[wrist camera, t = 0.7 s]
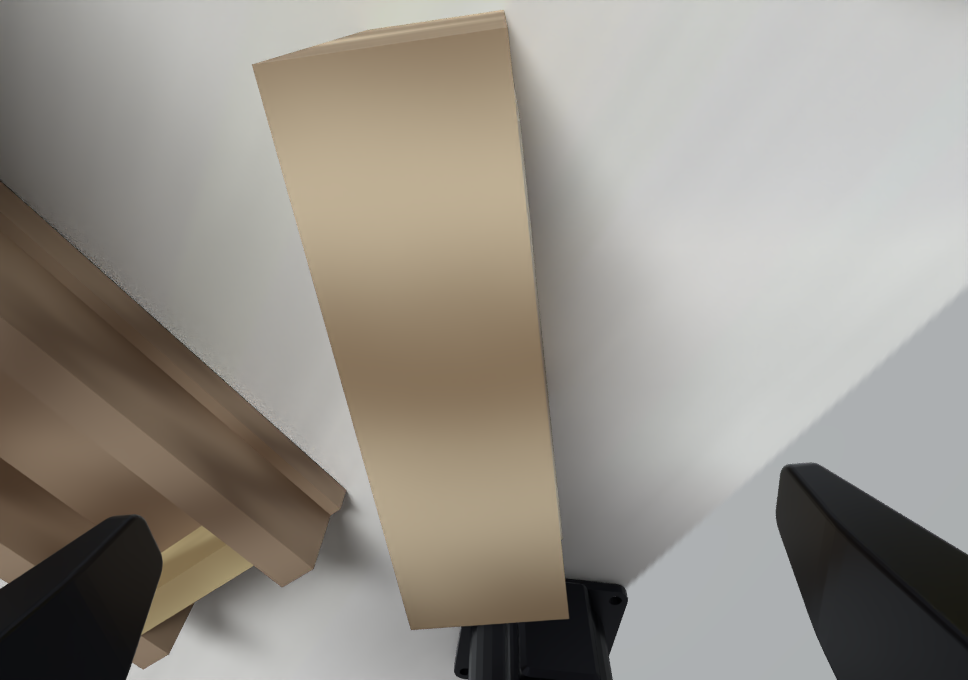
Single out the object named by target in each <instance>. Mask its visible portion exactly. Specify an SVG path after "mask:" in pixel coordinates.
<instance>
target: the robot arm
mask: <svg viewBox="0 0 968 680" xmlns="http://www.w3.org/2000/svg"><path fill="white" fill-rule="evenodd" d="M776 521H777V526H778V529H779V532H780V535H781V538H782V541H783V544H784V546H785V549H786V552H787V555H788V558H789V561H790V564H791V566H792V569H793V572H794V575H795V577H796V581H797V583H798V586H799V589H800V592H801V594H802V598H803V600H804V603H805V606H806V609H807V612H808V614H809V617H810V620H811V623H812V625H813V628H814V631H815V633H816V636H817V638H818V640H819V642H820V645H821V647H822V649H823V651H824V654H825V656H826V657H827V660H828V662H829V664H830V666H831V668H832V670H833V672H834V674H835V676H836V678H837V680H968V555H967V554H966V553H964V552H963V551H961V550H959V549H958V548H956V547H955V546H953V545H951V544H949V543H948V542H946V541H945V540H943V539H941V538H939V537H938V536H936V535H935V534H933V533H931V532H930V531H928V530H926V529H925V528H923V527H922V526H920V525H918V524H916V523H915V522H913V521H912V520H910V519H908V518H907V517H905V516H903V515H902V514H900V513H898V512H897V511H895V510H893V509H892V508H890V507H889V506H887V505H885V504H884V503H882V502H880V501H879V500H877V499H875V498H874V497H872V496H870V495H869V494H867V493H865V492H864V491H862V490H860V489H859V488H857V487H856V486H854V485H852V484H851V483H849V482H847V481H845V480H844V479H842V478H841V477H839V476H837V475H836V474H834V473H832V472H831V471H829V470H828V469H826V468H824V467H822V466H821V465H819V464H817V463H798V464H788V465H786V466H784V467H783V468H782V470H781V473H780V480H779V489H778V497H777V505H776ZM162 567H163V559H162V554H161V552H160V550H159V548H158V545H157V543H156V541H155V539H154V537H153V535H152V533H151V531H150V529H149V526H148V524H147V522H146V521H145V519H144V518H143V517H142V516H140V515H137V514H130V515H117V516H111V517H109V518H107V519H105V520H104V521H102V522H101V523H99V524H98V525H96V526H95V527H93V528H92V529H90V530H89V531H87V532H85V533H84V534H82V535H81V536H79V537H78V538H76V539H75V540H73V541H72V542H70V543H69V544H67V545H66V546H64V547H63V548H61V549H60V550H58V551H57V552H55V553H54V554H52V555H51V556H49V557H48V558H46V559H45V560H43V561H42V562H40V563H39V564H37V565H36V566H34V567H33V568H31V569H30V570H28V571H27V572H25V573H24V574H22V575H21V576H19V577H17V578H16V579H14V580H13V581H11V582H10V583H8V584H7V585H5V586H4V587H2V588H1V589H0V680H126V678H127V675H128V673H129V670H130V667H131V664H132V661H133V659H134V656H135V653H136V650H137V647H138V644H139V640H140V637H141V634H142V631H143V628H144V625H145V622H146V619H147V616H148V613H149V610H150V607H151V604H152V601H153V598H154V594H155V591H156V588H157V585H158V582H159V579H160V576H161V573H162ZM565 584H566V593H567V603H568V613H569V619H558V620H544V621H530V622H516V623H502V624H488V625H474V626H461V628H460V634H459V640H458V646H457V652H456V658H455V665H454V673H455V675H456V676H457V677H459V678H462V679H468V680H613V679H612V673H611V667H610V661H609V654H610V651H611V648H612V646H613V643H614V640H615V636H616V634H617V631H618V628H619V625H620V623H621V620H622V617H623V614H624V611H625V608H626V605H627V602H628V597H627V592H626V590H625V588H624V587H623V586H621V585H618V584H609V583H600V582H591V581H582V580H572V579H565Z"/></svg>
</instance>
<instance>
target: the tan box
mask: <svg viewBox="0 0 968 680" xmlns="http://www.w3.org/2000/svg"><path fill="white" fill-rule="evenodd" d="M252 66H253V70H254V74H255V77H256V81H257V84H258V88H259V91H260V95H261V98H262V102H263V106H264V109H265V113H266V116H267V120H268V123H269V127H270V130H271V134H272V138H273V141H274V145H275V148H276V152H277V155H278V159H279V162H280V166H281V170H282V173H283V177H284V180H285V184H286V187H287V191H288V194H289V198H290V202H291V205H292V209H293V212H294V216H295V219H296V223H297V226H298V230H299V234H300V237H301V241H302V244H303V248H304V251H305V255H306V258H307V262H308V266H309V269H310V273H311V276H312V280H313V283H314V287H315V290H316V294H317V298H318V301H319V305H320V308H321V312H322V315H323V319H324V323H325V326H326V330H327V333H328V337H329V340H330V344H331V347H332V351H333V355H334V358H335V362H336V365H337V369H338V372H339V376H340V379H341V383H342V387H343V390H344V394H345V397H346V401H347V404H348V408H349V411H350V415H351V419H352V422H353V426H354V429H355V433H356V436H357V440H358V443H359V447H360V451H361V454H362V458H363V461H364V465H365V468H366V472H367V475H368V479H369V483H370V486H371V490H372V493H373V497H374V500H375V504H376V507H377V511H378V515H379V518H380V522H381V525H382V529H383V532H384V536H385V539H386V543H387V547H388V550H389V554H390V557H391V561H392V564H393V568H394V572H395V575H396V579H397V582H398V586H399V589H400V593H401V596H402V600H403V604H404V607H405V611H406V614H407V618H408V621H409V625H410V628H411V630H418V629H432V628H446V627H460V626H474V625H488V624H502V623H516V622H530V621H544V620H558V619H569V613H568V603H567V593H566V584H565V574H564V565H563V555H562V545H561V540H563V536H562V527H561V517H560V507H559V497H558V487H557V478H556V468H555V458H554V448H553V439H552V429H551V419H550V409H549V399H548V390H547V380H546V370H545V360H544V350H543V341H542V331H541V321H540V311H539V301H538V292H537V282H536V272H535V262H534V252H533V243H532V233H531V223H530V213H529V203H528V194H527V184H526V174H525V164H524V154H523V145H522V135H521V125H520V117H519V111H518V105H517V99H516V93H515V87H514V81H513V74H512V65H511V55H510V46H509V36H508V27H507V23H506V19H505V14H504V10H499V11H493V12H486V13H479V14H472V15H466V16H459V17H452V18H446V19H439V20H432V21H425V22H419V23H412V24H405V25H399V26H392V27H385V28H378V29H372V30H366V31H363V32H359V33H356V34H353V35H349V36H346V37H343V38H339V39H336V40H333V41H329V42H326V43H323V44H319V45H316V46H313V47H309V48H306V49H303V50H299V51H296V52H293V53H289V54H286V55H283V56H279V57H276V58H273V59H269V60H266V61H263V62H259V63H256V64H253V65H252Z"/></svg>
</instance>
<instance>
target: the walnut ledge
mask: <svg viewBox="0 0 968 680" xmlns="http://www.w3.org/2000/svg"><path fill="white" fill-rule="evenodd" d="M345 493H346V490H345V489H344V488H343V487H342V486H341V485H340V484H339V483H337V482H336V481H335V480H334V479H333V478H332V477H331V476H330V475H328V474H327V473H326V472H325V471H324V470H323V469H322V468H321V467H320V466H318V465H317V464H316V463H315V462H314V461H313V460H312V459H311V458H309V457H308V456H307V455H306V454H305V453H304V452H303V451H302V450H300V449H299V448H298V447H297V446H296V445H295V444H294V443H293V442H292V441H290V440H289V439H288V438H287V437H286V436H285V435H284V434H283V433H281V432H280V431H279V430H278V429H277V428H276V427H275V426H274V425H273V424H271V423H270V422H269V421H268V420H267V419H266V418H265V417H264V416H262V415H261V414H260V413H259V412H258V411H257V410H256V409H255V408H254V407H252V406H251V405H250V404H249V403H248V402H247V401H246V400H245V399H243V398H242V397H241V396H240V395H239V394H238V393H237V392H236V391H235V390H233V389H232V388H231V387H230V386H229V385H228V384H227V383H226V382H224V381H223V380H222V379H221V378H220V377H219V376H218V375H217V374H216V373H214V372H213V371H212V370H211V369H210V368H209V367H208V366H207V365H205V364H204V363H203V362H202V361H201V360H200V359H199V358H198V357H197V356H195V355H194V354H193V353H192V352H191V351H190V350H189V349H188V348H186V347H185V346H184V345H183V344H182V343H181V342H180V341H179V340H178V339H176V338H175V337H174V336H173V335H172V334H171V333H170V332H169V331H167V330H166V329H165V328H164V327H163V326H162V325H161V324H160V323H158V322H157V321H156V320H155V319H154V318H153V317H152V316H151V315H150V314H148V313H147V312H146V311H145V310H144V309H143V308H142V307H141V306H139V305H138V304H137V303H136V302H135V301H134V300H133V299H132V298H131V297H129V296H128V295H127V294H126V293H125V292H124V291H123V290H122V289H120V288H119V287H118V286H117V285H116V284H115V283H114V282H113V281H112V280H110V279H109V278H108V277H107V276H106V275H105V274H104V273H103V272H101V271H100V270H99V269H98V268H97V267H96V266H95V265H94V264H93V263H91V262H90V261H89V260H88V259H87V258H86V257H85V256H84V255H82V254H81V253H80V252H79V251H78V250H77V249H76V248H75V247H74V246H72V245H71V244H70V243H69V242H68V241H67V240H66V239H65V238H63V237H62V236H61V235H60V234H59V233H58V232H57V231H56V230H55V229H53V228H52V227H51V226H50V225H49V224H48V223H47V222H46V221H44V220H43V219H42V218H41V217H40V216H39V215H38V214H37V213H36V212H34V211H33V210H32V209H31V208H30V207H29V206H28V205H27V204H25V203H24V202H23V201H22V200H21V199H20V198H19V197H18V196H16V195H15V194H14V193H13V192H12V191H11V190H10V189H9V188H8V187H6V186H5V185H4V184H3V183H2V182H1V181H0V578H1V579H2V580H4V581H5V582H7V583H10V582H11V581H13V580H14V579H16V578H17V577H19V576H21V575H22V574H24V573H25V572H27V571H28V570H30V569H31V568H33V567H34V566H36V565H37V564H39V563H40V562H42V561H43V560H45V559H46V558H48V557H49V556H51V555H52V554H54V553H55V552H57V551H58V550H60V549H61V548H63V547H64V546H66V545H67V544H69V543H70V542H72V541H73V540H75V539H76V538H78V537H79V536H81V535H82V534H84V533H85V532H87V531H89V530H90V529H92V528H93V527H95V526H96V525H98V524H99V523H101V522H102V521H104V520H105V519H107V518H109V517H111V516H117V515H130V514H137V515H140V516H142V517H143V518H144V519H145V521H146V522H147V524H148V526H149V529H150V531H151V533H152V535H153V537H154V539H155V541H156V543H157V545H158V548H159V550H160V552H161V554H162V559H163V567H162V573H161V576H160V579H159V582H158V585H157V588H156V591H155V594H154V598H153V601H152V604H151V607H150V610H149V613H148V616H147V619H146V622H145V625H144V628H143V631H142V634H141V637H140V640H139V644H138V647H137V650H136V653H135V656H134V659H133V661H132V663H134V664H135V665H137V666H138V667H140V668H142V669H145V668H147V667H148V666H150V665H152V664H153V663H155V662H157V661H158V660H160V659H162V658H163V657H165V656H167V655H169V653H170V651H171V649H172V647H173V645H174V643H175V641H176V639H177V637H178V635H179V633H180V631H181V629H182V627H183V625H184V623H185V621H186V619H187V617H188V615H189V613H190V611H191V609H192V607H193V605H194V603H195V602H196V601H197V600H199V599H201V598H202V597H204V596H205V595H207V594H209V593H210V592H212V591H213V590H215V589H217V588H218V587H220V586H222V585H223V584H225V583H226V582H228V581H230V580H231V579H233V578H235V577H236V576H238V575H239V574H241V573H243V572H244V571H246V570H248V569H249V568H251V567H252V566H255V567H256V568H258V569H259V570H260V571H261V572H263V573H264V574H265V575H267V576H268V577H269V578H271V579H272V580H273V581H274V582H276V583H277V584H278V585H280V586H281V587H284V586H286V585H287V584H289V583H291V582H292V581H294V580H296V579H297V578H299V577H301V576H302V575H304V574H306V573H308V572H309V571H311V570H313V569H314V566H315V563H316V560H317V556H318V553H319V550H320V547H321V544H322V541H323V538H324V535H325V531H326V528H327V525H328V522H329V519H330V516H331V515H332V514H333V513H335V512H337V511H338V510H340V509H341V506H342V503H343V499H344V496H345Z"/></svg>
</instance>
